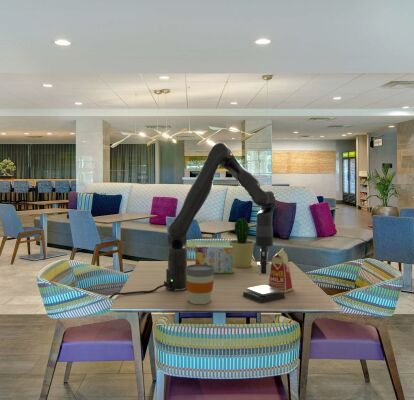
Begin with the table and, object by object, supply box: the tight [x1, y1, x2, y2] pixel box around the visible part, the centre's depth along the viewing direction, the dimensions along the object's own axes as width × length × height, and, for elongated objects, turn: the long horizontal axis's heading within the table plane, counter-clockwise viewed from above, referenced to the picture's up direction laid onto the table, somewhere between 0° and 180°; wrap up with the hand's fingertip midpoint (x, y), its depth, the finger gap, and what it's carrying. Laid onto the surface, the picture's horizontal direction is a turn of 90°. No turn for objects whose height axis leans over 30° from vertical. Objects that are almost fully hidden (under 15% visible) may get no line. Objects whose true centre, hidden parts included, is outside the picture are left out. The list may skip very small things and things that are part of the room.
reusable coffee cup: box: [185, 263, 215, 305], centre depth 177 cm, size 13×13×15 cm
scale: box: [242, 290, 286, 304], centre depth 183 cm, size 14×12×3 cm
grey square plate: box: [246, 284, 282, 296], centre depth 183 cm, size 11×11×1 cm
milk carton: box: [268, 247, 294, 293], centre depth 195 cm, size 9×9×20 cm
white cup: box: [256, 261, 272, 277], centre depth 183 cm, size 6×6×5 cm
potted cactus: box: [228, 217, 255, 269], centre depth 250 cm, size 15×15×30 cm
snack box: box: [194, 245, 234, 274], centre depth 232 cm, size 21×6×15 cm, turn 84°
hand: (264, 271), depth 183 cm, fingers closed on white cup, 6 cm apart
